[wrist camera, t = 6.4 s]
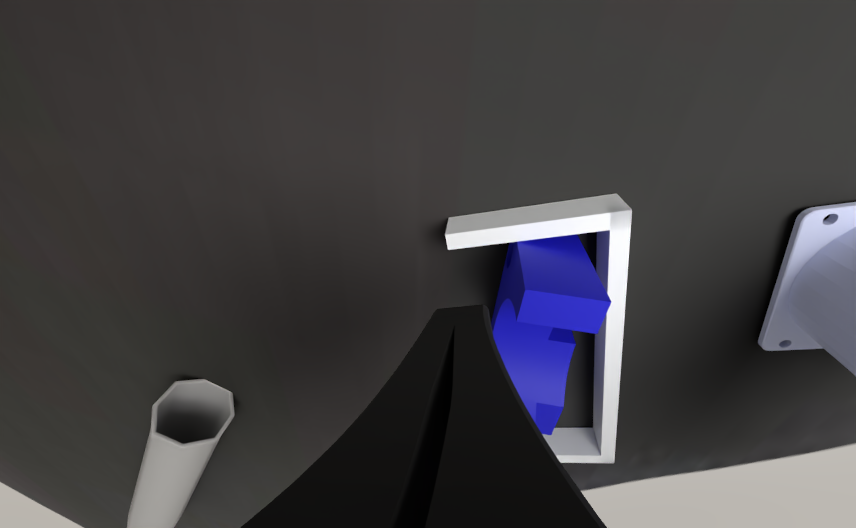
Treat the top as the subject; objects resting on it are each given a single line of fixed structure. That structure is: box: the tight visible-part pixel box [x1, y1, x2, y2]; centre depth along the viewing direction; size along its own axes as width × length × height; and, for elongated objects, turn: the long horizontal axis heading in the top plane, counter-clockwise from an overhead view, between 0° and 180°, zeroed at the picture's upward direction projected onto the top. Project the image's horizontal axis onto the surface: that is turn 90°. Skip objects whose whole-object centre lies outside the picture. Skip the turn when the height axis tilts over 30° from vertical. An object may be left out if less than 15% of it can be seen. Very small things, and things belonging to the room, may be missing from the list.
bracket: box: [445, 193, 632, 463], centre depth 20 cm, size 8×18×2 cm, turn 12°
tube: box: [127, 379, 235, 528], centre depth 32 cm, size 5×5×25 cm
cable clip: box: [491, 234, 611, 435], centre depth 18 cm, size 12×4×6 cm, turn 175°
